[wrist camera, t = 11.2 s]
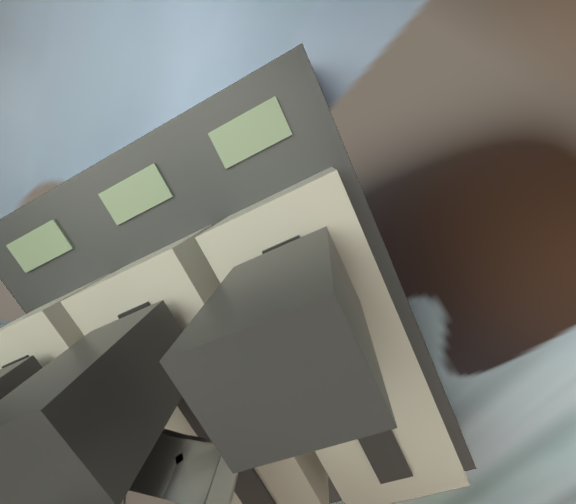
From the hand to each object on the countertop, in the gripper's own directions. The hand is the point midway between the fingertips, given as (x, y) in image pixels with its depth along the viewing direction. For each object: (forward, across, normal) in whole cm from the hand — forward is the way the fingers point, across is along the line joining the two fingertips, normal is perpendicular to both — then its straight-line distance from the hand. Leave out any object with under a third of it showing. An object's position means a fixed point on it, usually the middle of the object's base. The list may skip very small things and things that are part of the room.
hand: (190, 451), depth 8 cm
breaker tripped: (+1, +2, -2) cm, 3 cm away
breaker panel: (+6, 0, 0) cm, 6 cm away
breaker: (+1, -2, -5) cm, 5 cm away
